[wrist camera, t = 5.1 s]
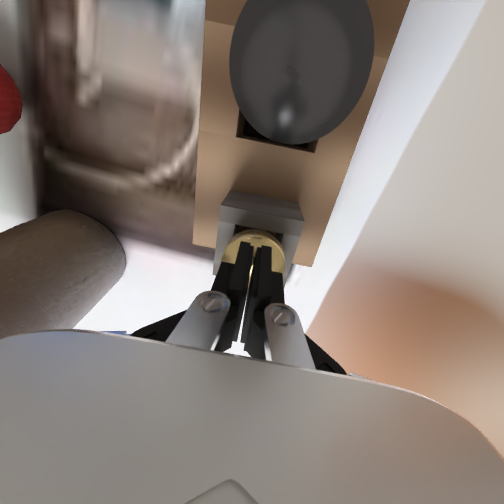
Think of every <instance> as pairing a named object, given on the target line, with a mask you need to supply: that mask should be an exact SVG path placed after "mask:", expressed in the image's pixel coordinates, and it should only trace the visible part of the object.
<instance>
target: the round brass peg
mask: <svg viewBox="0 0 504 504" xmlns="http://www.w3.org/2000/svg"><path fill="white" fill-rule="evenodd" d="M241 241H244V242H249V243H251V244H250V245H251V246H254V251H253V258H252V264H251V271H250V278H251V273H252V268H253V264H254V259H255V255H256V250H257V247H261V245H265V246H270V247H272V271H275V272H280V273H282V275H284V272H285V259H284V251H283V248H282V245H281V244H280V242H279V241H278V240H277V239H276V238H275V237H274V236H273V235H271V233H270V231H267V230H262V229H257V228H252V227H246V228H245V230H244V231H241V232H239V233H237V234H235V235H234V236H233V237H232V238H231V239H230V240H229V241H228V243H227V245H226V247H225V250H224V253H223V255H222V258H221V262H228V263H233V264H235V261H236V257H237V253H238V249H239V246H240V242H241ZM250 278H249V282H250ZM248 287H249V285H248ZM247 292H248V291H247Z"/></svg>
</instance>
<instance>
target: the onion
mask: <svg viewBox="0 0 504 504" xmlns="http://www.w3.org/2000/svg"><path fill="white" fill-rule="evenodd" d="M22 106H23V103H22V98H21V94H20V92H19V90H18V88H17V86H16V84H15V82H14V80H13V79H12V78H11V76H10V75H9V74H8V73H7V71H6V70H5V69H4V68H3V67H2V66H1V65H0V134H2V133H6V132H9V131H10V130H11V129H12V128H13V126H14V125H15V124H16V123H17V122H18V120H19V119H20V118H21V113H22Z"/></svg>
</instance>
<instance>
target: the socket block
mask: <svg viewBox="0 0 504 504" xmlns="http://www.w3.org/2000/svg"><path fill="white" fill-rule="evenodd" d="M409 1H410V0H366V2H367V4H368V6H369V9H370V13H371V17H372V21H373V28H374V44H375V45H374V57H373V63H372V68H371V72H370V75H369V79H368V82H367V84H366V87H365V89H364V92H363V94H362V96H361V97H360V99H359V101H358V103H357V104H356V106H355V107H354V109H353V110H352V112H351V113H350V114H349V115H348V117H347V118H346V119H345V120H344V121H343V122H342V123H341V124H340V125H339V126H338V127H336V128H335V129H334V130H333V131H331V132H330V133H328V134H327V135H325V136H323V137H321V138H319V139H317V140H315V141H311V142H308V144H307V148H304V147H299V146H294V145H289V144H284V143H279V142H274V141H269V140H264V139H259V138H254V137H250V136H245V135H243V130H244V122H245V117H244V116H243V114H242V112H241V110H240V109H239V107H238V105H237V102H236V99H235V97H234V94H233V90H232V86H231V80H230V72H229V54H230V46H231V39H232V36H233V32H234V28H235V25H236V22H237V20H238V17H239V15H240V13H241V11H242V9H243V7H244V5H245V3H246V2H247V0H206V8H205V26H204V45H203V63H202V81H201V100H200V118H199V137H198V155H197V173H196V192H195V210H194V228H193V244H195V245H200V246H206V247H211V248H216V249H215V257H214V266H213V275H217V272H218V270H219V267H220V264H221V258H222V255H223V253H224V250H225V247H226V245H227V243H228V241H229V240H230V239H231V238H232V237H233V236H234V235H235V234H237V233H239V232H241V231H244V230H245V228H246V227H252V228H257V229H262V230H267V231H270V233H271V235H273V236H274V237H275V238H276V239H277V240H278V241H279V242H280V244H281V245H282V248H283V251H284V259H285V272H284V275H283V288H284V287H285V283H286V280H287V277H288V274H289V271H290V268H291V264H292V263H293V264H298V265H303V266H309V267H312V264H313V262H314V259H315V256H316V253H317V251H318V248H319V245H320V243H321V240H322V237H323V234H324V232H325V229H326V226H327V224H328V221H329V218H330V216H331V213H332V210H333V207H334V205H335V202H336V199H337V197H338V194H339V191H340V188H341V186H342V183H343V180H344V178H345V175H346V172H347V169H348V167H349V164H350V161H351V159H352V156H353V153H354V150H355V148H356V145H357V142H358V140H359V137H360V134H361V131H362V129H363V126H364V123H365V121H366V118H367V115H368V112H369V110H370V107H371V104H372V102H373V99H374V96H375V94H376V91H377V88H378V85H379V83H380V80H381V77H382V75H383V72H384V69H385V66H386V64H387V61H388V58H389V56H390V53H391V50H392V47H393V45H394V42H395V39H396V37H397V34H398V31H399V28H400V26H401V23H402V20H403V18H404V15H405V12H406V9H407V7H408V4H409Z"/></svg>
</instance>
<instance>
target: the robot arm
mask: <svg viewBox="0 0 504 504" xmlns="http://www.w3.org/2000/svg"><path fill="white" fill-rule="evenodd" d="M250 244H251V243H249V242H244V241H241V242H240V246H239V249H238V253H237V257H236V261H235V264H233V263H228V262H221V264H220V267H219V270H218V272H217V275H216V278H215V281H214V283H213V286H212V289H211V291H206V292H203V293H201V294H199V295H198V296H197V297H196V298H195V300H194V301H193V303H192V304H191V305H190V307H189V308H188V310H185V311H183V312H180V313H178V314H175V315H173V316H170V317H168V318H165V319H163V320H160V321H158V322H155V323H153V324H150V325H148V326H145V327H143V328H141V329H139V330H137V331H135V332H134V333H132V334H127V332H126V331H91V330H79V329H49V330H40V331H32V332H26V333H20V334H16V335H12V336H8V337H5V338H2V339H0V504H504V458H503V456H502V455H501V454H500V453H499V451H498V450H497V449H496V448H495V447H494V445H493V444H492V443H491V442H490V441H489V440H488V438H487V437H486V436H485V435H484V434H483V433H482V432H481V431H480V430H479V429H478V428H477V427H476V426H474V425H473V424H472V423H471V422H470V421H468V420H467V419H466V418H464V417H462V416H461V415H460V414H458V413H457V412H455V411H453V410H452V409H450V408H448V407H446V406H445V405H443V404H441V403H439V402H437V401H435V400H433V399H431V398H428V397H426V396H423V395H421V394H418V393H416V392H413V391H410V390H407V389H404V388H400V387H397V386H392V385H388V384H384V383H379V382H375V381H372V380H370V379H367V378H365V377H362V376H360V375H357V374H355V373H352V372H351V373H350V375H349V374H346V372H345V371H344V369H343V368H342V367H341V366H340V365H339V364H338V363H337V362H336V361H335V360H334V359H332V358H331V357H330V356H329V355H328V354H327V353H326V352H325V351H323V350H322V349H321V348H320V347H319V346H318V345H317V344H316V343H315V342H313V341H312V340H311V339H310V338H309V337H308V336H307V335H306V334H304V332H303V328H302V325H301V322H300V319H299V316H298V314H297V313H296V311H295V310H294V309H292V308H291V307H290V306H288V305H285V302H284V288H283V275H282V273H280V272H275V271H272V247H270V246H265V245H261V247H257V250H256V255H255V259H254V264H253V268H252V273H251V278H250V271H251V264H252V258H253V251H254V246H251V245H250ZM249 278H250V282H249ZM248 285H249V287H248ZM247 291H248V293H247ZM246 297H247V300H246ZM245 301H246V307H245V314H244V321H243V327H242V334H241V343H245V345H244V351H247V352H248V353H249V355H250V356H251V357H246V356H240V355H235V354H229V353H224V351H226V350H227V349H229V348H231V345H232V341H235V342H237V338H238V334H239V329H240V324H241V320H242V315H243V311H244V306H245Z"/></svg>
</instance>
